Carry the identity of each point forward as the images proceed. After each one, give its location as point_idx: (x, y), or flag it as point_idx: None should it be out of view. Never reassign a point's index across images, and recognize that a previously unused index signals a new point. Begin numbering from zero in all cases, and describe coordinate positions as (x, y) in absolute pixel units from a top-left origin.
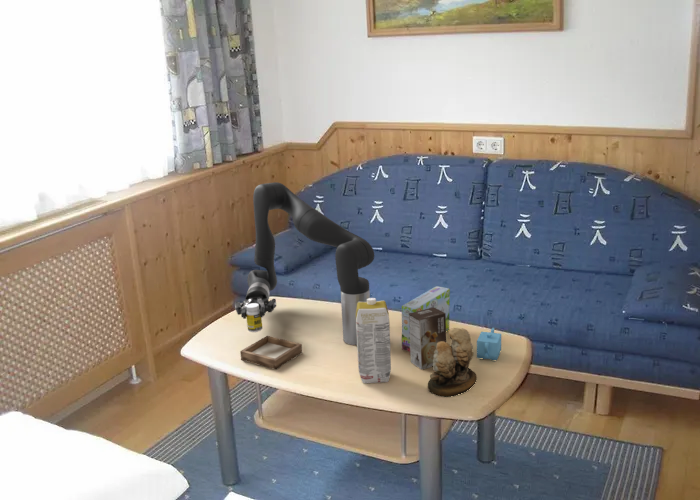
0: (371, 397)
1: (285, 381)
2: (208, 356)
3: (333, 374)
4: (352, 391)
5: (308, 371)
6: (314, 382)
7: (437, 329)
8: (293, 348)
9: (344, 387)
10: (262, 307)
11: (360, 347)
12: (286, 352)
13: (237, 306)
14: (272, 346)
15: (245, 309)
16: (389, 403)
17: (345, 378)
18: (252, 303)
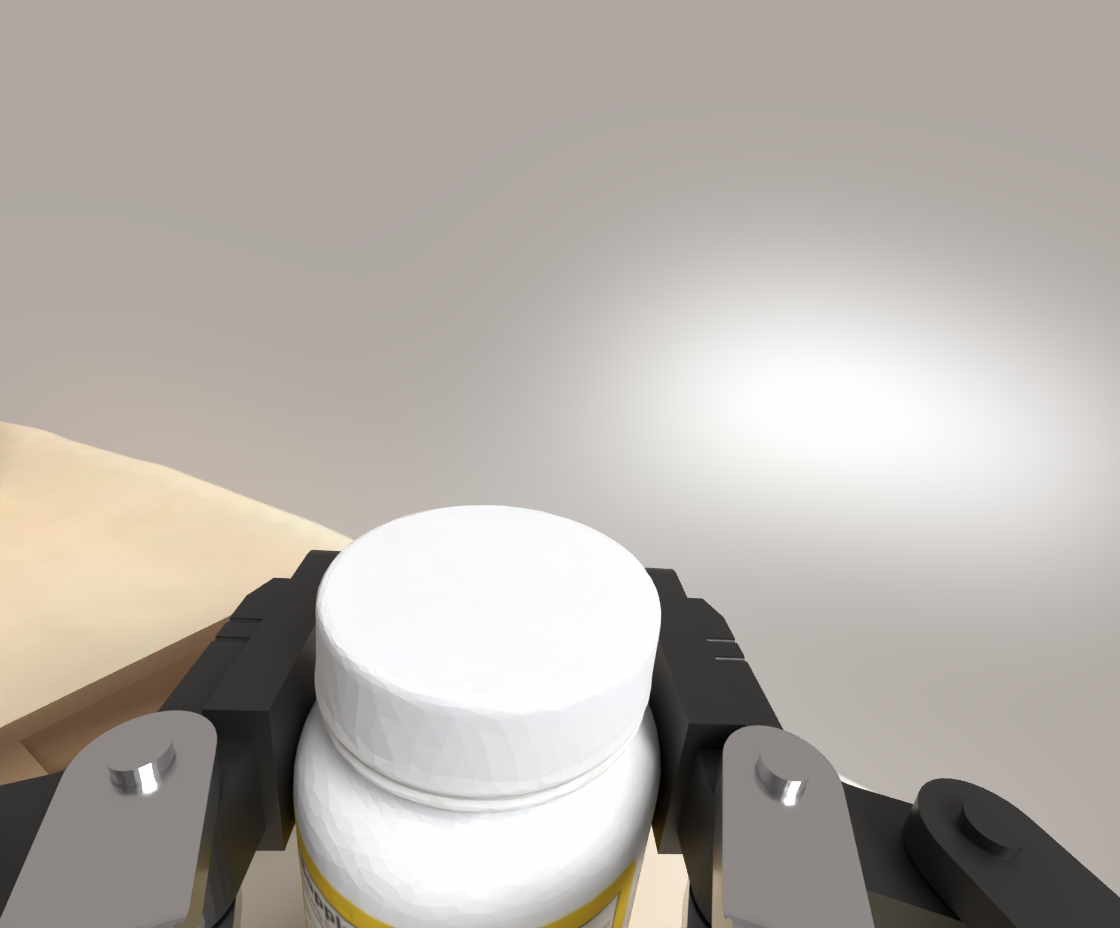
0: (53, 449)
1: (325, 537)
2: None
3: (48, 550)
4: (87, 472)
5: (160, 584)
6: (195, 519)
7: None
8: (116, 676)
9: (94, 487)
10: (219, 685)
11: None
12: (217, 629)
13: (1081, 895)
14: (266, 898)
15: (672, 659)
16: (28, 431)
17: (23, 523)
18: (510, 683)
